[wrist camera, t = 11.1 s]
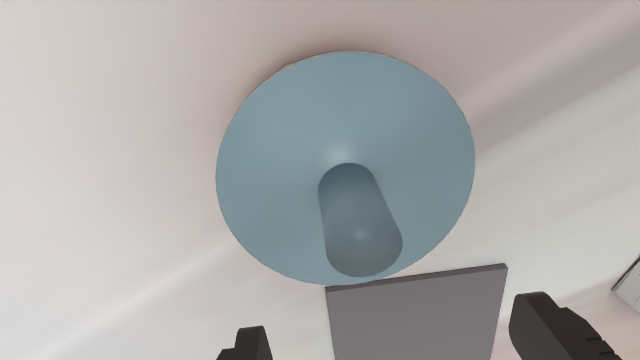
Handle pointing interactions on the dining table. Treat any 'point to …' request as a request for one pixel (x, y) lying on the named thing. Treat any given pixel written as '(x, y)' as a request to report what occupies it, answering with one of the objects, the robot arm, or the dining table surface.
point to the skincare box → (630, 288)
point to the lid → (345, 168)
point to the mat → (418, 316)
